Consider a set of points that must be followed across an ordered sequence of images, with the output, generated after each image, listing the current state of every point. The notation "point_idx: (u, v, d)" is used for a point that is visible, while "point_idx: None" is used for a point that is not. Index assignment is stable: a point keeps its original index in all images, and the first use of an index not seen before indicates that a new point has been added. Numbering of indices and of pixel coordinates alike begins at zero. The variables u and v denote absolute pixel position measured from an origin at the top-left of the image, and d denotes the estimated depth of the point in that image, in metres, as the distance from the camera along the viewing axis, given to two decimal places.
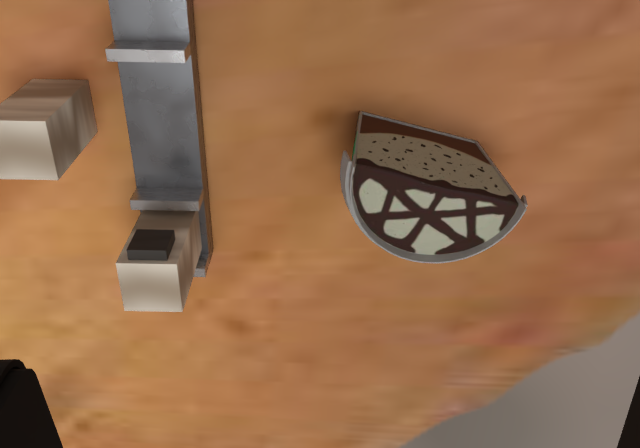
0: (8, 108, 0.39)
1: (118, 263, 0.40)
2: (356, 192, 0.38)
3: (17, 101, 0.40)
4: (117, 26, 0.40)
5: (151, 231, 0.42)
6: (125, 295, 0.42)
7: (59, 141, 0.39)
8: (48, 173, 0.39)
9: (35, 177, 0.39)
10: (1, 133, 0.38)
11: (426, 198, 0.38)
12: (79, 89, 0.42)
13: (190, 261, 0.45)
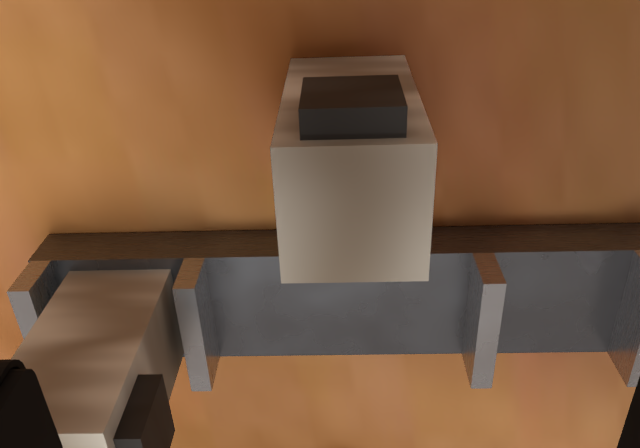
0: None
1: (103, 436, 0.17)
2: None
3: None
4: (517, 259, 0.23)
5: (166, 405, 0.20)
6: None
7: None
8: (296, 266, 0.16)
9: (283, 238, 0.16)
10: (400, 187, 0.15)
11: None
12: None
13: None
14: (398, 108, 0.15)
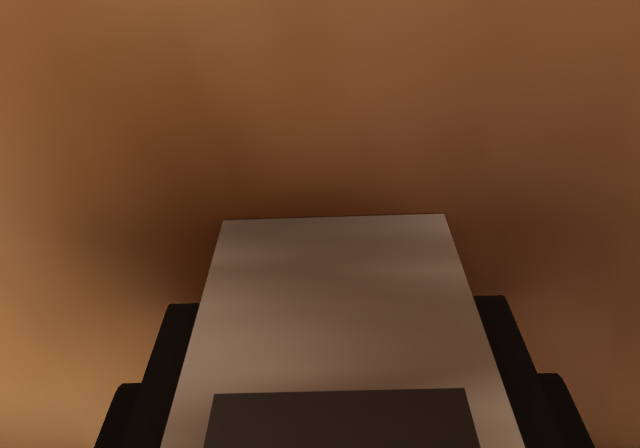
0: None
1: None
2: None
3: None
4: None
5: None
6: None
7: None
8: None
9: None
10: None
11: None
12: None
13: None
14: None
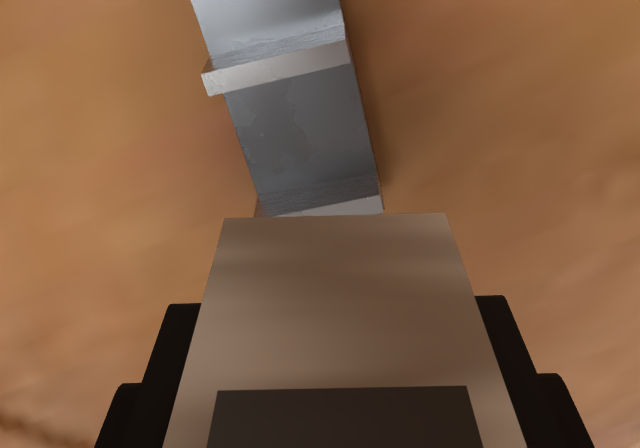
0: None
1: None
2: None
3: None
4: (345, 71, 0.23)
5: None
6: None
7: None
8: None
9: None
10: None
11: None
12: None
13: None
14: None
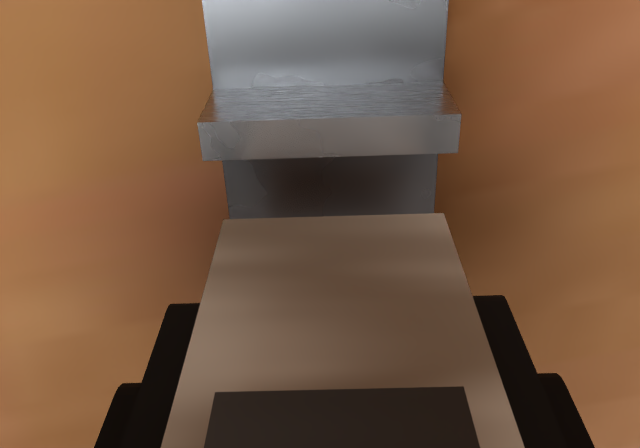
0: None
1: None
2: None
3: None
4: (423, 154, 0.14)
5: None
6: None
7: None
8: None
9: None
10: None
11: None
12: None
13: None
14: None
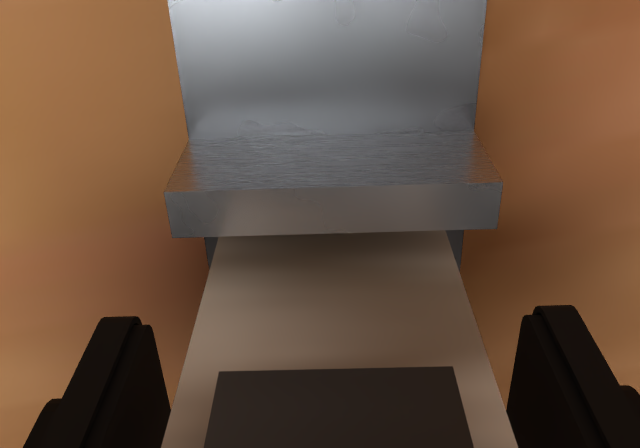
0: None
1: None
2: None
3: None
4: None
5: None
6: None
7: None
8: None
9: None
10: None
11: None
12: None
13: None
14: None
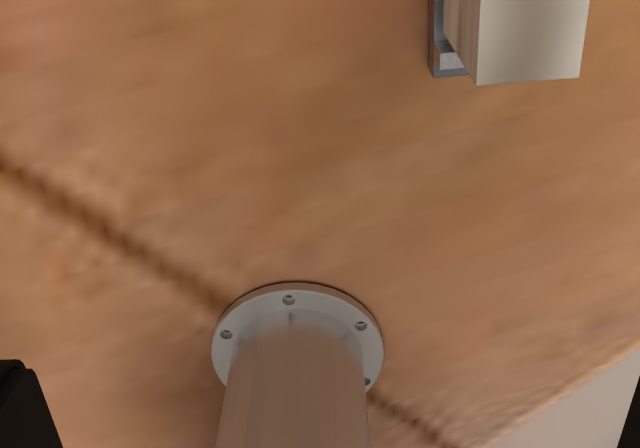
0: None
1: None
2: None
3: None
4: None
5: None
6: None
7: None
8: (488, 71, 0.24)
9: (482, 49, 0.23)
10: (566, 4, 0.23)
11: None
12: None
13: None
14: None
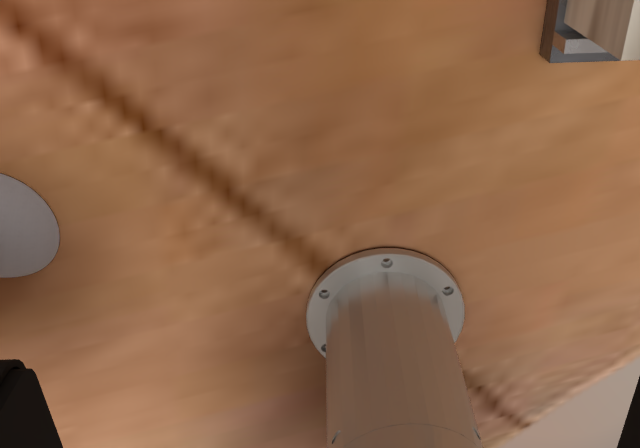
0: None
1: None
2: None
3: None
4: None
5: None
6: None
7: None
8: (633, 48, 0.29)
9: (631, 29, 0.28)
10: None
11: None
12: None
13: None
14: None
